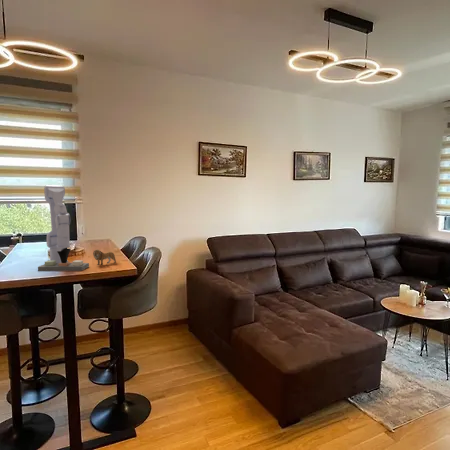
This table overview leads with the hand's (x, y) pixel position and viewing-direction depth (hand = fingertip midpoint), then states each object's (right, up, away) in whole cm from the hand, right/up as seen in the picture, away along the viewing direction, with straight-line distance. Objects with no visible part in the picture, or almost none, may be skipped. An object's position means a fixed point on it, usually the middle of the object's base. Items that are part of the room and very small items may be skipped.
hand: (64, 262), depth 176 cm
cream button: (+7, -2, 0) cm, 7 cm away
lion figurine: (+17, -3, +13) cm, 21 cm away
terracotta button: (0, -3, 0) cm, 3 cm away
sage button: (-7, -2, 0) cm, 7 cm away
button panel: (0, -3, 0) cm, 3 cm away
